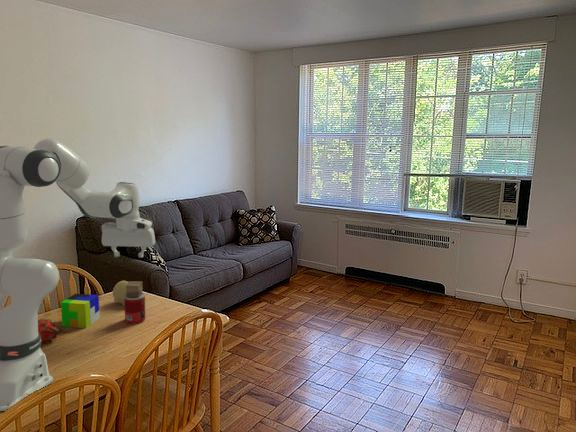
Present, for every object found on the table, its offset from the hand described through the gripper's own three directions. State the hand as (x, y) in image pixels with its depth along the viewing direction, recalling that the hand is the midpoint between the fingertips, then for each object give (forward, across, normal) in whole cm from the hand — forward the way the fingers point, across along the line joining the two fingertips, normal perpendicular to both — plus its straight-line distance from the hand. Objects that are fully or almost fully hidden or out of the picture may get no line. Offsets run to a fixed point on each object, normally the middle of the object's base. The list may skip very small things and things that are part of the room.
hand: (129, 256), depth 175 cm
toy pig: (+27, -8, +19) cm, 34 cm away
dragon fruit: (+28, -26, -17) cm, 41 cm away
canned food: (+28, +1, +1) cm, 28 cm away
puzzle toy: (+28, -20, -1) cm, 34 cm away
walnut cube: (+16, +1, +1) cm, 17 cm away
